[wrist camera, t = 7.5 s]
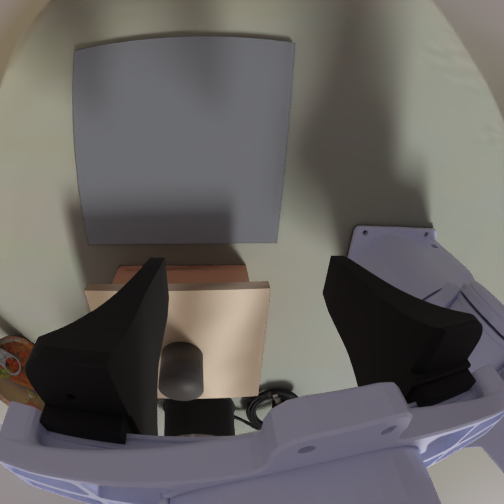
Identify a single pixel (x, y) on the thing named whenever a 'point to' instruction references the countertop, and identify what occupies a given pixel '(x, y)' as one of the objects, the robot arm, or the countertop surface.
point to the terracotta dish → (191, 274)
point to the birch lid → (207, 338)
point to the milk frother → (215, 414)
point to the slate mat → (182, 139)
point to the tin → (16, 372)
